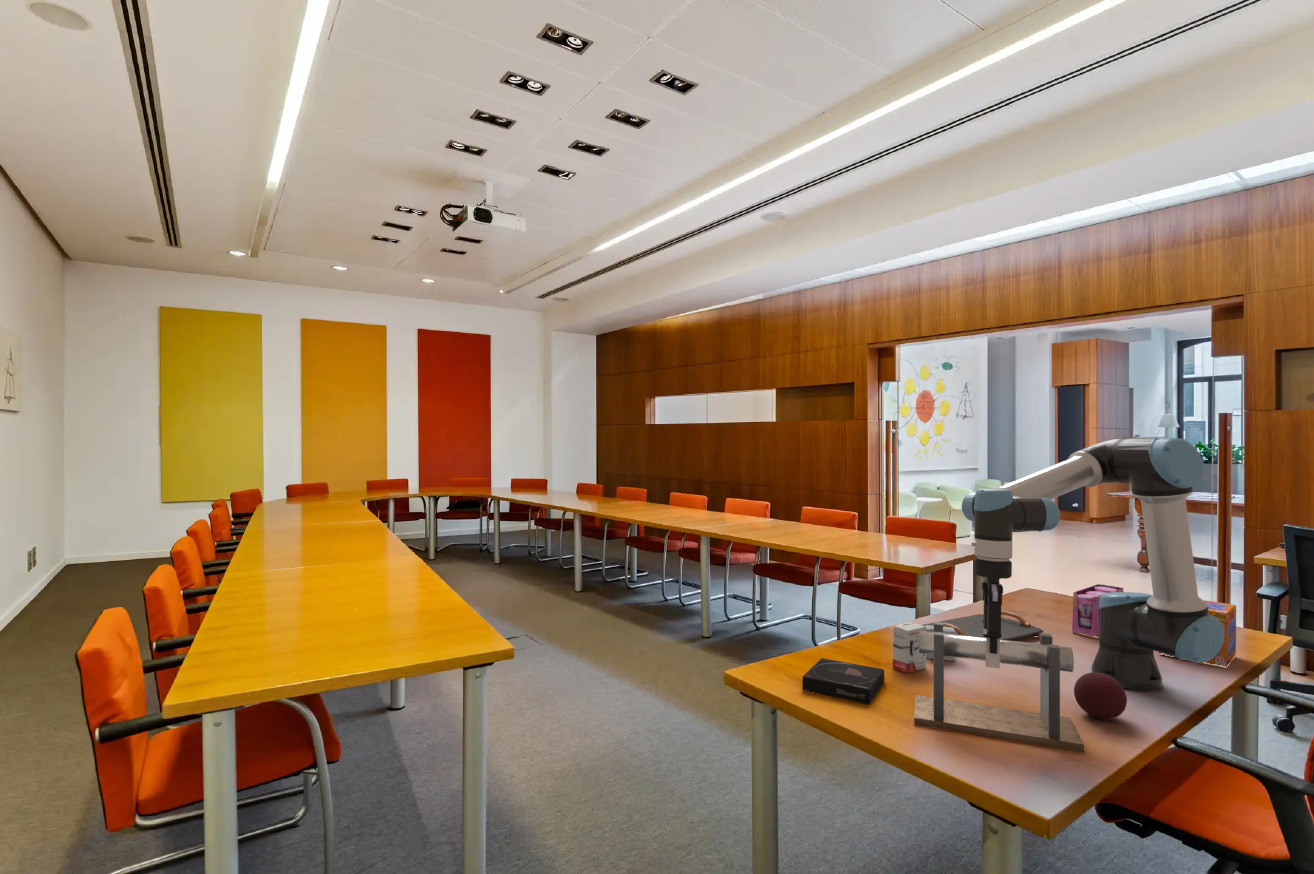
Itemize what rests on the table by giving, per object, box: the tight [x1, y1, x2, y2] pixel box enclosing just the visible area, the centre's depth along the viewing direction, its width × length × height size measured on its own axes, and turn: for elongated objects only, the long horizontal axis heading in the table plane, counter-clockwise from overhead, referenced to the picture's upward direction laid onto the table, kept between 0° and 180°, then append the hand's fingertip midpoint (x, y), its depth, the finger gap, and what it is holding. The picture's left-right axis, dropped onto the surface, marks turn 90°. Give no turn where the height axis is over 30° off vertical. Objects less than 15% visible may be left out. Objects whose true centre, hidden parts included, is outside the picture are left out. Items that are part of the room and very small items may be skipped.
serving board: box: [921, 610, 1044, 641], centre depth 210 cm, size 39×23×6 cm, turn 118°
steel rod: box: [919, 631, 1075, 673], centre depth 143 cm, size 30×5×5 cm
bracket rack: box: [913, 621, 1085, 753], centre depth 143 cm, size 32×14×20 cm, turn 67°
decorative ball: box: [1073, 672, 1128, 720], centre depth 147 cm, size 10×10×10 cm
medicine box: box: [925, 625, 956, 662], centre depth 188 cm, size 8×4×9 cm, turn 71°
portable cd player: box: [801, 657, 885, 705], centre depth 165 cm, size 16×17×4 cm
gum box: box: [1071, 583, 1124, 637], centre depth 216 cm, size 24×8×14 cm, turn 127°
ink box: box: [892, 621, 926, 674], centre depth 179 cm, size 8×5×12 cm, turn 123°
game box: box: [1158, 599, 1237, 667], centre depth 190 cm, size 16×16×16 cm
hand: (991, 663), depth 143 cm, fingers open, 5 cm apart
